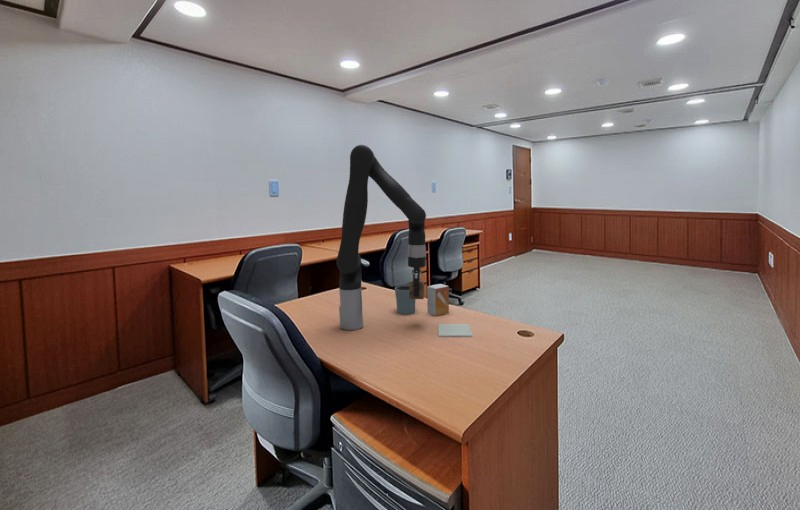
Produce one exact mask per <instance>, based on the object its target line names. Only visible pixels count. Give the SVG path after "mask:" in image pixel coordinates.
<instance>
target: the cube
mask: <svg viewBox="0 0 800 510" xmlns="http://www.w3.org/2000/svg"><path fill="white" fill-rule="evenodd" d="M408 285H409V299H415V300H424V299H425V290H424V289H425V282H424V281H421V282H420V283H419V286H420V287H419V297H414V288H413V282H412V281H409V284H408ZM415 285H418V282H415Z"/></svg>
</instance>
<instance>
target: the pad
mask: <svg viewBox="0 0 800 510" xmlns="http://www.w3.org/2000/svg"><path fill="white" fill-rule="evenodd" d="M437 328H438V331H437V333H438V337H439V338H473V333H472V329H471V325H470V323H438V324H437Z"/></svg>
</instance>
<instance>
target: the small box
mask: <svg viewBox="0 0 800 510" xmlns="http://www.w3.org/2000/svg"><path fill="white" fill-rule="evenodd" d="M426 290H427V294H426V295H427V296H426V297H427V314H429V315H432V316H434V317H437V316H441V315H445V314H449V313H450V309H449V307H450V301H449V300H450V293H449V291H450V286H449V285H446V284H444V283H443V284H442V283H438V284H432V285H428V286H427V287H426Z"/></svg>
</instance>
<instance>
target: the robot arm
mask: <svg viewBox="0 0 800 510" xmlns="http://www.w3.org/2000/svg"><path fill="white" fill-rule="evenodd" d="M369 177H370V178H369ZM369 179H372V180H373V182H375V184H376V185H377V186H378V187H379V188H380V189H381V191H382V192H383V193H384V195H385V196H386V197H387V198H388V199H389V200H390V201H391V202H392V203H393V204H394V205H395V206H396V208H398V209H399V210H400V212H402V213H403V215H404V216H405V217H406V218H407V220H408V239H407V242H408V243H407V246H408V247H407V266H408V268H413V269H411V276H412V277H411V279H412V281H411V282H413V288H414V297H419V287H420V286H419V283H420V282H422V281H421V280H422V269H421V268H425V267H427V247H426V233H425V227H426V226H425V225H426V224H425V223H426V219H427V213H426V211H425V210H424V209H423V207H422V206H420V204H419V203H418V202H417V201H415V200H414V199H413V198H412V197H411V195H410V194H409V193H408V191H406V190H405V188H404V187H403V186H402V185H401V184H400V183H399V182H398V181H397V180H396V179H394V178H393V176H392V175H390V174H389V173H388V172H387V171H386V170H385V168H383V166H382V164H380V162H379V161H378V159H377V157H376V155H375V154H374V151H373V150H372V149H371V148H370V147H369V146H367V145H365V144H357V146H355V147H353V148H352V150H351V151H350V155H349V179H348V185H347V189H346V193H345V200H344V205H343V213H342V222H341V223H342V225H341V237H340V238H341V239H340V240H341V241H340V244H339V249H338V252H337V256H336V267H337V268H338V270H339V281H338V287H339V305H340V306H339V307H338V310H339V328H340V330H344V331H355V330H357V331H358V330H360V329H361V328H363V327H364V317H363V316H364V315H363V295H362V293H363V292H362V291H363V290H362V275H363V273H362V258H361V255H360V253H359V246H360V240H361V235H362V233H363V230H364V226H365V224H366V218H367V212H368V206H369V205H368V202H369V201H368V200H369V199H368V198H369V194H368V193H369V192H368V185H369V184H368V183H369ZM415 282H418V285H415Z"/></svg>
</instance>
